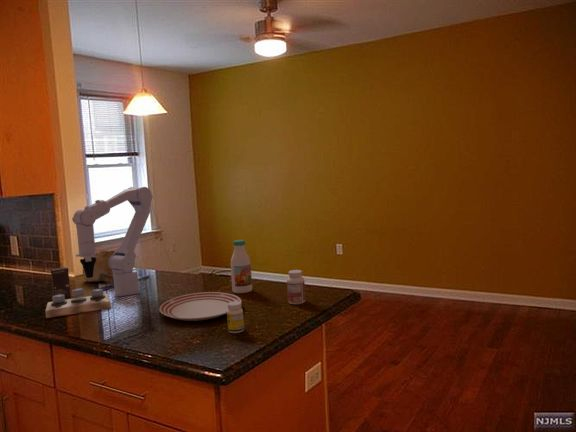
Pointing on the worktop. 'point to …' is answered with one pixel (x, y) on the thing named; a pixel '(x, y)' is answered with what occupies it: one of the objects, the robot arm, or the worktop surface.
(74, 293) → the button middle
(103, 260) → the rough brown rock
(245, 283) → the milk bottle
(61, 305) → the button board
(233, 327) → the supplement bottle
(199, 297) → the dinner plate
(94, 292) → the button
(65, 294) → the box
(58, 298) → the button
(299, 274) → the pill bottle
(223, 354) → the worktop surface
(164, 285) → the worktop surface
